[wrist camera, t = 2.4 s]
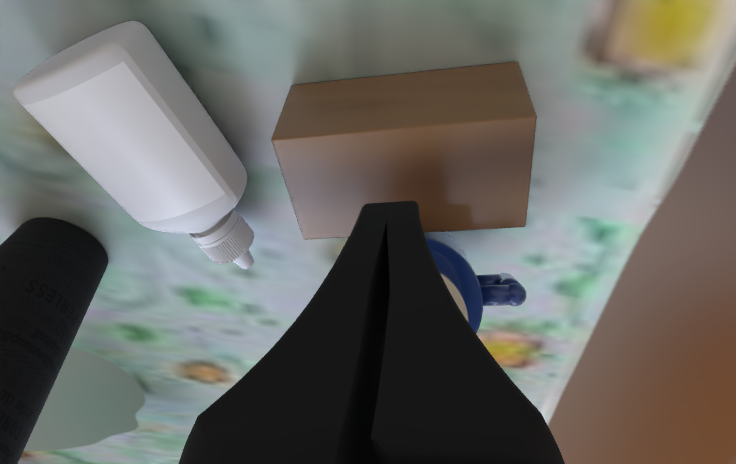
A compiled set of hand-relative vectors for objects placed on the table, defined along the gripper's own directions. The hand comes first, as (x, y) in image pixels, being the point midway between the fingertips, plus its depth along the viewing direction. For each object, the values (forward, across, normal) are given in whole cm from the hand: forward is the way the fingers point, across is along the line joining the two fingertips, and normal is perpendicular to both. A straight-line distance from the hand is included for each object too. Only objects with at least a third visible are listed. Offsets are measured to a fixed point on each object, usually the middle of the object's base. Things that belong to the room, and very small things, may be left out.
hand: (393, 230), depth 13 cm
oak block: (+9, 0, +3) cm, 9 cm away
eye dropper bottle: (+7, +12, -3) cm, 14 cm away
